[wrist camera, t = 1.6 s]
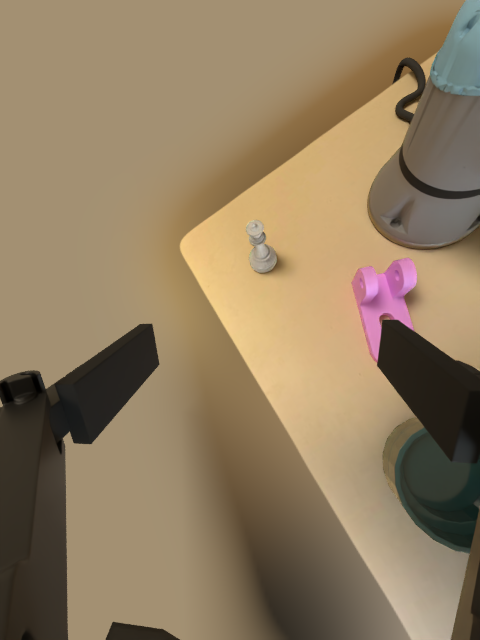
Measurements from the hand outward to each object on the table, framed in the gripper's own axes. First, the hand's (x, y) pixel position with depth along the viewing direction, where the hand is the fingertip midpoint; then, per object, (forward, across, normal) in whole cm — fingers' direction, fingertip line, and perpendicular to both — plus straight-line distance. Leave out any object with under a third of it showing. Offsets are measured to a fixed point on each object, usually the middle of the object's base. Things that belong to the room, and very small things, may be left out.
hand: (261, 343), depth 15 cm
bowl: (+13, +20, -22) cm, 33 cm away
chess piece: (+30, -1, +2) cm, 30 cm away
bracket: (+23, +16, -7) cm, 29 cm away
